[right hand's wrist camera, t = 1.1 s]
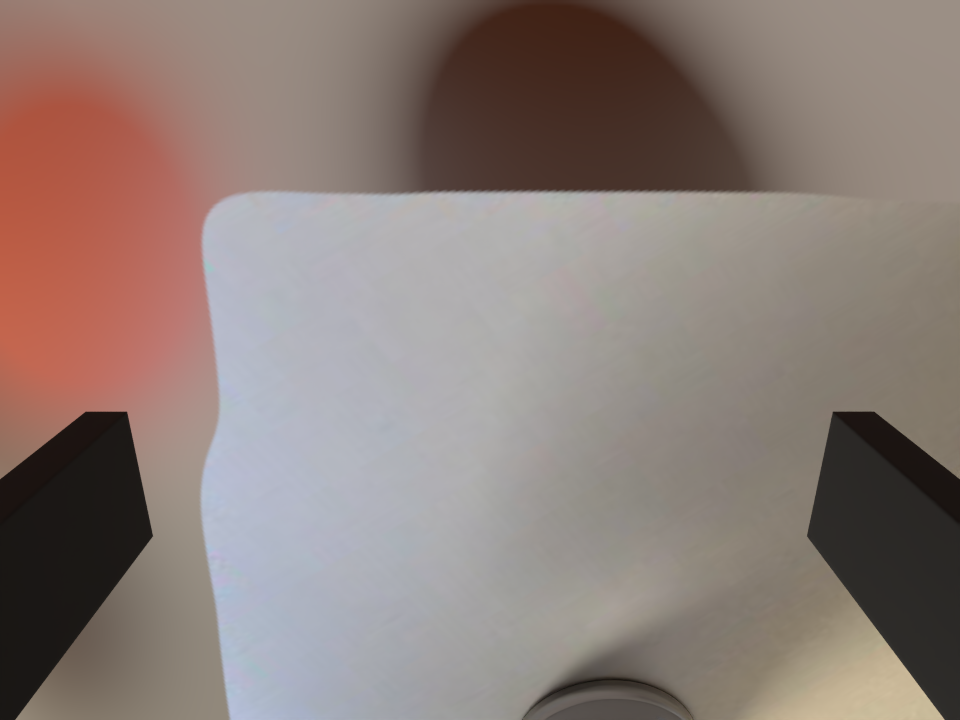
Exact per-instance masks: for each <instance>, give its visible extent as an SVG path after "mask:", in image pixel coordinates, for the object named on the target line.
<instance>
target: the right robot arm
mask: <svg viewBox="0 0 960 720" xmlns="http://www.w3.org/2000/svg"><path fill="white" fill-rule="evenodd" d="M152 537H153V534H152V529H151V525H150V520H149V515H148V510H147V505H146V501H145V496H144V491H143V486H142V482H141V477H140V472H139V467H138V462H137V457H136V453H135V448H134V443H133V438H132V433H131V428H130V424H129V419H128V414H127V412H85V413H84V414H82V415H81V416H80V417H79V418H77V419H76V420H75V421H73V422H72V423H71V424H70V425H68V426H67V427H66V428H65V429H63V430H62V431H61V432H60V433H58V434H57V435H56V436H55V437H53V438H52V439H51V440H49V441H48V442H47V443H46V444H44V445H43V446H42V447H41V448H39V449H38V450H37V451H36V452H34V453H33V454H32V455H30V456H29V457H28V458H27V459H25V460H24V461H23V462H22V463H20V464H19V465H18V466H17V467H15V468H14V469H13V470H11V471H10V472H9V473H8V474H6V475H5V476H4V477H3V478H1V479H0V720H15V719H16V718H17V717H18V715H19V714H20V713H21V711H22V710H23V709H24V707H25V706H26V705H27V703H28V702H29V701H30V699H31V698H32V697H33V695H34V694H35V693H36V691H37V690H38V689H39V687H40V686H41V685H42V683H43V682H44V681H45V679H46V678H47V677H48V675H49V674H50V673H51V671H52V670H53V669H54V667H55V666H56V665H57V663H58V662H59V661H60V659H61V658H62V657H63V655H64V654H65V653H66V651H67V650H68V649H69V647H70V646H71V645H72V643H73V642H74V641H75V639H76V638H77V637H78V635H79V634H80V633H81V631H82V630H83V629H84V627H85V626H86V625H87V623H88V622H89V621H90V619H91V618H92V617H93V615H94V614H95V613H96V611H97V610H98V609H99V607H100V606H101V605H102V603H103V602H104V601H105V599H106V598H107V597H108V595H109V594H110V593H111V591H112V590H113V589H114V587H115V586H116V585H117V583H118V582H119V581H120V579H121V578H122V577H123V575H124V574H125V573H126V571H127V570H128V569H129V567H130V566H131V565H132V563H133V562H134V561H135V559H136V558H137V557H138V555H139V554H140V553H141V551H142V550H143V549H144V547H145V546H146V545H147V543H148V542H149V541H150V539H151V538H152ZM807 537H808V538H809V539H810V541H811V542H812V543H813V545H814V546H815V547H816V549H817V550H818V551H819V553H820V554H821V555H822V557H823V558H824V559H825V561H826V562H827V563H828V565H829V566H830V567H831V569H832V570H833V571H834V573H835V574H836V575H837V577H838V578H839V579H840V581H841V582H842V583H843V585H844V586H845V587H846V589H847V590H848V591H849V593H850V594H851V595H852V597H853V598H854V599H855V601H856V602H857V603H858V605H859V606H860V607H861V609H862V610H863V611H864V613H865V614H866V615H867V617H868V618H869V619H870V621H871V622H872V623H873V625H874V626H875V627H876V629H877V630H878V631H879V633H880V634H881V635H882V637H883V638H884V639H885V641H886V642H887V643H888V645H889V646H890V647H891V649H892V650H893V651H894V653H895V654H896V655H897V657H898V658H899V659H900V661H901V662H902V663H903V665H904V666H905V667H906V669H907V670H908V671H909V673H910V674H911V675H912V677H913V678H914V679H915V681H916V682H917V683H918V685H919V686H920V687H921V689H922V690H923V691H924V693H925V694H926V695H927V697H928V698H929V699H930V701H931V702H932V703H933V705H934V706H935V707H936V709H937V710H938V711H939V713H940V714H941V715H942V717H943V718H944V719H945V720H960V479H959V478H957V477H956V476H955V475H954V474H952V473H951V472H950V471H949V470H947V469H946V468H945V467H943V466H942V465H941V464H940V463H938V462H937V461H936V460H935V459H933V458H932V457H931V456H930V455H928V454H927V453H926V452H924V451H923V450H922V449H921V448H919V447H918V446H917V445H916V444H914V443H913V442H912V441H911V440H909V439H908V438H907V437H905V436H904V435H903V434H902V433H900V432H899V431H898V430H897V429H895V428H894V427H893V426H892V425H890V424H889V423H888V422H887V421H885V420H884V419H883V418H881V417H880V416H879V415H878V414H876V413H875V412H833V414H832V419H831V424H830V428H829V433H828V438H827V443H826V448H825V453H824V457H823V462H822V467H821V472H820V477H819V481H818V486H817V491H816V496H815V501H814V505H813V510H812V515H811V520H810V525H809V529H808V534H807ZM523 720H693V718H692V717H691V715H690V713H689V712H688V711H687V710H686V708H685V707H684V706H683V705H682V704H681V703H679V702H678V701H677V700H676V699H675V698H673V697H671V696H670V695H668V694H667V693H665V692H663V691H661V690H659V689H656V688H654V687H651V686H648V685H645V684H641V683H636V682H631V681H622V680H601V681H592V682H586V683H582V684H578V685H574V686H571V687H568V688H565V689H563V690H560V691H558V692H556V693H554V694H552V695H550V696H549V697H547V698H545V699H544V700H542V701H541V702H540V703H538V704H537V705H536V706H535V707H534V708H532V709H531V710H530V711H529V712H528V713H527V715H526V716H525V717H524V718H523Z"/></svg>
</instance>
